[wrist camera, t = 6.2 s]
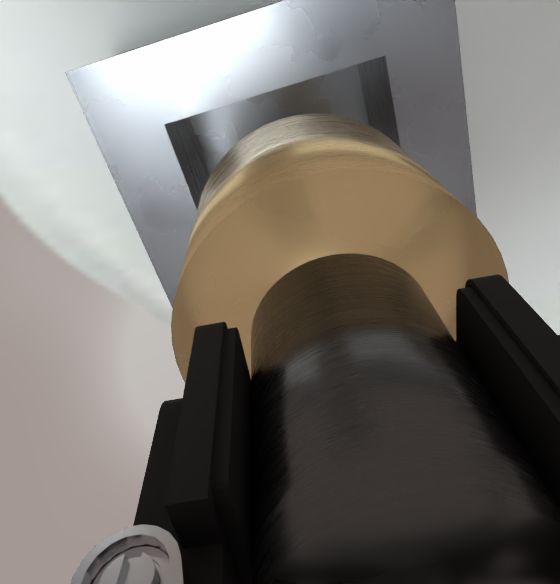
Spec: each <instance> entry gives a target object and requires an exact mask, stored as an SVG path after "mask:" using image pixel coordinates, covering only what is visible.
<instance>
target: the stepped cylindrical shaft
mask: <svg viewBox="0 0 560 584" xmlns="http://www.w3.org/2000/svg"><path fill="white" fill-rule="evenodd" d="M491 275H501V276H502V277H503V278H504V279H505V280H506V281H507V282H508V283H509V281H508V274H507V270H506V267H505V264H504V261H503V258H502V255H501V253H500V251H499V249H498V247H497V245H496V243H495V241H494V239H493V238H492V236H491V235H490V233H489V232H488V231H487V229H486V228H485V227H484V225H483V224H482V223H481V221H480V220H479V219H478V218H477V217H476V216H475V215H474V214H473V213H472V212H471V211H470V210H468V209H467V208H466V207H465V206H464V205H463V204H462V203H461V202H460V201H459V200H458V199H457V198H455V197H454V196H453V195H452V194H451V193H450V192H449V191H448V190H447V189H445V188H444V187H443V186H442V185H441V184H440V183H439V182H438V181H437V180H435V179H434V178H433V177H432V176H431V175H430V174H429V173H428V172H427V171H425V170H424V169H423V168H422V167H421V166H420V165H419V164H418V163H417V162H415V161H414V160H413V159H412V158H411V157H410V156H409V155H408V154H407V153H405V152H404V151H403V150H402V149H401V148H400V147H399V146H398V145H397V144H395V143H394V142H393V141H392V140H391V139H390V138H388V137H387V136H386V135H384V134H383V133H381V132H380V131H378V130H377V129H375V128H373V127H371V126H369V125H367V124H365V123H363V122H360V121H357V120H354V119H351V118H348V117H344V116H338V115H333V114H304V115H296V116H291V117H287V118H283V119H280V120H277V121H274V122H272V123H269V124H266V125H264V126H262V127H261V128H259V129H257V130H255V131H253V132H251V133H250V134H248V135H247V136H246V137H244V138H243V139H242V140H240V141H239V142H237V143H236V144H235V145H234V146H233V147H232V148H231V149H230V150H229V151H228V152H227V153H226V154H225V155H224V156H223V158H222V159H221V160H220V161H219V163H218V164H217V165H216V166H215V168H214V170H213V171H212V173H211V175H210V177H209V178H208V180H207V182H206V185H205V187H204V189H203V192H202V194H201V198H200V202H199V206H198V210H197V214H196V217H195V221H194V225H193V229H192V233H191V237H190V241H189V245H188V249H187V253H186V257H185V261H184V265H183V268H182V272H181V276H180V280H179V284H178V288H177V292H176V296H175V300H174V304H173V311H172V322H171V330H172V345H173V349H174V353H175V358H176V362H177V365H178V367H179V370H180V373H181V375H182V378H183V380H184V381H185V383H186V377H187V372H188V366H189V360H190V355H191V349H192V343H193V337H194V332H195V328H196V327H197V326H202V325H208V324H214V323H219V322H225V323H226V325H227V327H228V329H229V328H235V327H237V328H238V331H239V334H240V338H241V342H242V346H243V350H244V354H245V358H246V362H247V365H248V369H249V373H250V377H251V418H252V553H253V584H560V508H559V506H558V505H557V503H556V501H555V500H554V498H553V497H552V495H551V493H550V492H549V490H548V489H547V487H546V485H545V484H544V482H543V481H542V479H541V477H540V476H539V474H538V473H537V471H536V469H535V468H534V466H533V465H532V463H531V461H530V460H529V458H528V457H527V455H526V453H525V452H524V450H523V449H522V447H521V445H520V444H519V442H518V441H517V439H516V438H515V436H514V434H513V433H512V431H511V430H510V428H509V426H508V425H507V423H506V422H505V420H504V418H503V417H502V415H501V414H500V412H499V410H498V409H497V407H496V406H495V404H494V402H493V401H492V399H491V398H490V396H489V394H488V393H487V391H486V390H485V388H484V386H483V385H482V383H481V382H480V380H479V378H478V377H477V375H476V374H475V372H474V370H473V369H472V367H471V366H470V364H469V362H468V361H467V359H466V358H465V356H464V355H463V353H462V351H461V350H460V348H459V347H458V345H457V343H456V293H457V290H458V289H461V288H465V284H466V281H467V280H468V279H474V278H479V277H485V276H491Z"/></svg>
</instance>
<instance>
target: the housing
mask: <svg viewBox="0 0 560 584" xmlns="http://www.w3.org/2000/svg"><path fill="white" fill-rule="evenodd" d="M65 73H66V75H67V78H68V80H69V82H70V84H71V86H72V88H73V91H74V93H75V95H76V97H77V99H78V102H79V104H80V106H81V108H82V110H83V113H84V115H85V117H86V119H87V121H88V124H89V126H90V128H91V130H92V132H93V135H94V137H95V139H96V141H97V143H98V146H99V148H100V150H101V152H102V154H103V156H104V159H105V161H106V163H107V165H108V167H109V170H110V172H111V174H112V176H113V178H114V181H115V183H116V185H117V187H118V189H119V192H120V194H121V196H122V198H123V200H124V203H125V205H126V207H127V209H128V211H129V214H130V216H131V218H132V220H133V222H134V224H135V227H136V229H137V231H138V233H139V235H140V238H141V240H142V242H143V244H144V246H145V249H146V251H147V253H148V255H149V257H150V260H151V262H152V264H153V266H154V268H155V271H156V273H157V275H158V277H159V279H160V282H161V284H162V286H163V288H164V290H165V292H166V295H167V297H168V299H169V301H170V303H171V306H172V308H173V304H174V300H175V296H176V292H177V288H178V284H179V280H180V276H181V272H182V268H183V265H184V261H185V257H186V253H187V249H188V245H189V241H190V237H191V233H192V229H193V225H194V221H195V217H196V214H197V210H198V206H199V202H200V198H201V194H202V192H203V189H204V187H205V185H206V182H207V180H208V178H209V177H210V175H211V173H212V171H213V170H214V168H215V166H216V165H217V164H218V163H219V161H220V160H221V159H222V158H223V156H224V155H225V154H226V153H227V152H228V151H229V150H230V149H231V148H232V147H233V146H234V145H235V144H236V143H237V142H239V141H240V140H242V139H243V138H244V137H246V136H247V135H248V134H250V133H251V132H253V131H255V130H257V129H259V128H261V127H262V126H264V125H266V124H269V123H272V122H274V121H277V120H280V119H283V118H287V117H291V116H296V115H304V114H333V115H338V116H344V117H348V118H351V119H354V120H357V121H360V122H363V123H365V124H367V125H369V126H371V127H373V128H375V129H377V130H378V131H380V132H381V133H383V134H384V135H386V136H387V137H388V138H390V139H391V140H392V141H393V142H394V143H395V144H397V145H398V146H399V147H400V148H401V149H402V150H403V151H404V152H405V153H407V154H408V155H409V156H410V157H411V158H412V159H413V160H414V161H415V162H417V163H418V164H419V165H420V166H421V167H422V168H423V169H424V170H425V171H427V172H428V173H429V174H430V175H431V176H432V177H433V178H434V179H435V180H437V181H438V182H439V183H440V184H441V185H442V186H443V187H444V188H445V189H447V190H448V191H449V192H450V193H451V194H452V195H453V196H454V197H455V198H457V199H458V200H459V201H460V202H461V203H462V204H463V205H464V206H465V207H466V208H467V209H468V210H470V211H471V212H472V213H473V214H474V215H475V216H476V217H477V214H476V205H475V195H474V185H473V175H472V165H471V155H470V145H469V136H468V126H467V116H466V106H465V96H464V86H463V76H462V67H461V57H460V47H459V37H458V27H457V17H456V7H455V0H283V1H280V2H277V3H274V4H271V5H268V6H265V7H262V8H259V9H256V10H253V11H250V12H247V13H244V14H241V15H238V16H235V17H231V18H228V19H225V20H222V21H219V22H216V23H213V24H210V25H207V26H204V27H201V28H198V29H195V30H192V31H189V32H186V33H183V34H180V35H177V36H174V37H171V38H167V39H164V40H161V41H158V42H155V43H152V44H149V45H146V46H143V47H140V48H137V49H134V50H131V51H128V52H125V53H122V54H119V55H116V56H113V57H110V58H107V59H104V60H101V61H98V62H95V63H92V64H89V65H86V66H83V67H80V68H77V69H74V70H71V71H68V72H65Z"/></svg>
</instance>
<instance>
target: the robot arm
mask: <svg viewBox="0 0 560 584" xmlns="http://www.w3.org/2000/svg"><path fill="white" fill-rule="evenodd" d="M456 343H457V345H458V347H459V348H460V350H461V351H462V353H463V355H464V356H465V358H466V359H467V361H468V362H469V364H470V366H471V367H472V369H473V370H474V372H475V374H476V375H477V377H478V378H479V380H480V382H481V383H482V385H483V386H484V388H485V390H486V391H487V393H488V394H489V396H490V398H491V399H492V401H493V402H494V404H495V406H496V407H497V409H498V410H499V412H500V414H501V415H502V417H503V418H504V420H505V422H506V423H507V425H508V426H509V428H510V430H511V431H512V433H513V434H514V436H515V438H516V439H517V441H518V442H519V444H520V445H521V447H522V449H523V450H524V452H525V453H526V455H527V457H528V458H529V460H530V461H531V463H532V465H533V466H534V468H535V469H536V471H537V473H538V474H539V476H540V477H541V479H542V481H543V482H544V484H545V485H546V487H547V489H548V490H549V492H550V493H551V495H552V497H553V498H554V500H555V501H556V503H557V505H558V506H559V508H560V335H557V334H556V333H555V332H554V331H553V330H552V329H551V328H550V327H549V326H548V325H547V324H546V323H545V322H544V320H543V319H542V318H541V317H540V316H539V315H538V314H537V313H536V312H535V311H534V310H533V309H532V308H531V307H530V305H529V304H528V303H527V302H526V301H525V300H524V299H523V298H522V297H521V296H520V295H519V294H518V293H517V292H516V290H515V289H514V288H513V287H512V286H511V285H510V284H509V283H508V282H507V281H506V280H505V279H504V278H503V277H502V276H501V275H491V276H485V277H479V278H474V279H468V280H467V281H466V284H465V288H461V289H458V290H457V293H456ZM71 584H253V553H252V418H251V377H250V373H249V369H248V365H247V362H246V358H245V354H244V350H243V346H242V342H241V338H240V334H239V331H238V328H237V327H235V328H229V329H228V327H227V325H226V323H225V322H219V323H214V324H208V325H202V326H197V327H196V328H195V332H194V337H193V343H192V349H191V355H190V360H189V366H188V372H187V377H186V383H185V389H184V395H183V398H181V399H175V400H169V401H164V402H163V404H162V405H161V408H160V411H159V415H158V420H157V424H156V429H155V433H154V437H153V442H152V446H151V451H150V455H149V459H148V464H147V468H146V472H145V477H144V481H143V486H142V490H141V494H140V499H139V504H138V508H137V512H136V516H135V521H134V525H133V526H131V527H126V528H124V529H122V530H120V531H118V532H115V533H113V534H111V535H110V536H108V537H107V538H105V539H104V540H102V541H101V542H100V543H98V544H97V545H96V546H95V547H94V548H93V549H92V550H91V551H90V552H89V553H88V554H87V555H86V557H85V558H84V559H83V560H82V561H81V563H80V565H79V567H78V568H77V570H76V572H75V574H74V575H73V577H72V580H71Z"/></svg>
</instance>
